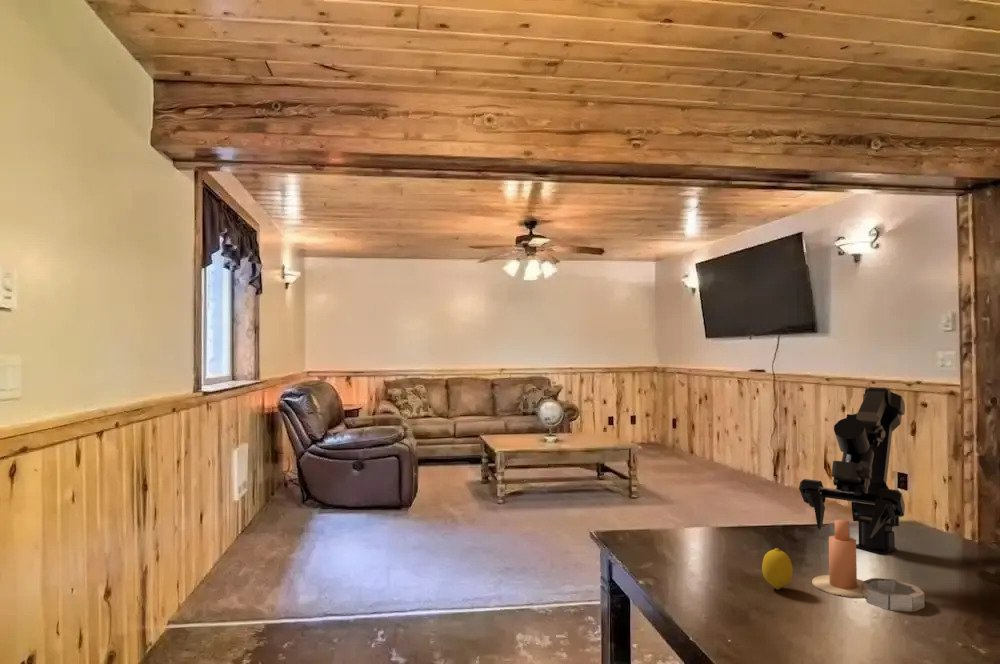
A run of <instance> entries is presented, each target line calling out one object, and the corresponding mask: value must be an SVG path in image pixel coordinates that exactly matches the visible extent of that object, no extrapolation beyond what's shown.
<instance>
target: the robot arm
mask: <svg viewBox="0 0 1000 664" xmlns="http://www.w3.org/2000/svg"><path fill="white" fill-rule="evenodd" d="M905 413H906V403H905V401H904V399H903V396H902V395H900V394H899V393H898V394H897V393H895V392H893V391H891V389H890V388H887V387H876V386H875V387H872V386H870V387H866V388H865V390H864V394H863V396H862V402H861V404H860V406H859V409H858V410H857V413H854V414H846V417H845V418H842V419H840V420H839V421H837V422H836V423H835V424H834V425H833V431H834V435H835V438H836V441H837V444H838V448H839V450H840V452H841V453H842V455H841V456H842V458H841V460H833V461H832V466H831V477H832V478H833V480H832V481H833V483H832V484H833V486H836V488H830V487H824V485H823V482H822V481H821V480H818V479H816V480H815V479H808V478H804V479H802V480H801V481H800V482H799V486H798V489H799V492H800V495H801V497H802V500H803V502H804V503H806V505H807V504H808V505H809V506H810V507H811V508H813V509H814V514H815V520H816V527H817V529H818V530H819V531H821V530H822V527H823V525H824V523H823V522H824V518H825V512H826V511H825V510H826V506H825V502H826V499H834V500H840V501H841V500H842V501H847V502H851V503H850V504H851V505H850V506H851V514H852V515H851V516H852V521H853V522H858V525H857V526H858V543H856V549H860V550H865V551H868V552H872V553H874V554H875V553H876V554H880V555H884V554H888V553H891V552H895V551H897V547H896V546H895V544H896V543H895V531H894V530H893V528H895V527H900V518H902V517H904V516H905V511H906V508H905V507H906V506H905V505H906V504H905V501H904V496H903V492H901V491H900V490H898V489H891V488H889V486H888V485H887V484H888V483H887V481H888V474H889V473H888V472H889V463H890V453H891V445H892V436H893V432H894V430H896V429H897V428H898V427H899V426H900V425H901V423H902V417H903V416H905Z"/></svg>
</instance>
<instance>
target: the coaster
mask: <svg viewBox="0 0 1000 664" xmlns="http://www.w3.org/2000/svg"><path fill="white" fill-rule="evenodd" d="M862 581H863V580H862V579H859V578H857V588H855V589H841V588H837V587H834V586H832V585H831V584H830V581H829V574H824V575H823V574H822V575H818V576H815V577H814V578H812V581H811V582H812V584H811V585H813V587H815V588H816V589H817V588H818V589H817V590H819V589H820V590H819V591H821V590H823V591H822V592H824V591H825V592H824V593H826V592H828V593H827V594H830V593H831V594H830V595H833V594H836V595H835V596H838V595H841V596H840V597H843V596H846V597H845V598H853V597H863V598H864V595H863V594H862Z"/></svg>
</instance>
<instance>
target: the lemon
mask: <svg viewBox="0 0 1000 664" xmlns="http://www.w3.org/2000/svg"><path fill="white" fill-rule="evenodd" d="M761 564H762V565H761V571H762V575H763V578H764V579H765V580H766V582H767V583H768V584H769V585H771V586H773V588H775V590H780V589H782V588H783V587H785V586H788V584H790V582H791V580H792V578H793V573H794V572H793V571H794V570H793V564H792V561H791V558H790V557H789V555H788V554H786V552H784V551H783V550H781V549H780V548H778V547H776V548H774V549H771V550H769V551H767V552H766V553H765V554H764V556H763V559H762V563H761Z"/></svg>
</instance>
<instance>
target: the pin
mask: <svg viewBox="0 0 1000 664" xmlns="http://www.w3.org/2000/svg"><path fill="white" fill-rule="evenodd" d="M850 530H851V529H850V521H849V520H846V519H835V520H834V535H830V536H828V561H829V562H828V565H829V566H828V571H829V574H828V575H829V581H830V584H831V585H832V586H834V587H837V588H841V589H855V588H857V579H858V576H857V575H858V573H857V572H858V570H857V569H858V567H857V548H856V544H857V540H856V538H854V537H852V536H850V534H851V533H850Z"/></svg>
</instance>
